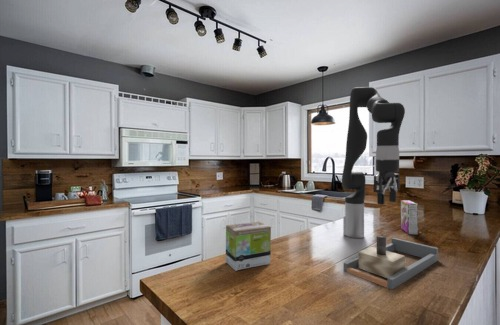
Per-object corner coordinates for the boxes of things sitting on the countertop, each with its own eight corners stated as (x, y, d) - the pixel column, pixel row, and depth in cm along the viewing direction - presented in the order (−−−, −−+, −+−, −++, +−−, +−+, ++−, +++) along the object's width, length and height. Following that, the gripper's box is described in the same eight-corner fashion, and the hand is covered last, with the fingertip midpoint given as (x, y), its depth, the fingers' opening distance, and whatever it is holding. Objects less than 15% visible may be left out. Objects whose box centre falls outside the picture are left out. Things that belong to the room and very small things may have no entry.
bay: (343, 270, 94) (343, 257, 94) (393, 248, 117) (393, 237, 117) (392, 289, 81) (392, 273, 80) (437, 260, 103) (438, 247, 103)
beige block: (358, 268, 96) (358, 235, 95) (371, 262, 101) (371, 231, 101) (392, 280, 86) (392, 243, 86) (404, 272, 91) (405, 238, 91)
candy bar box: (400, 228, 149) (400, 200, 149) (409, 229, 148) (410, 200, 148) (407, 234, 138) (408, 203, 138) (418, 234, 137) (418, 203, 137)
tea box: (235, 272, 94) (235, 231, 94) (225, 262, 103) (224, 224, 102) (271, 264, 101) (271, 225, 100) (258, 255, 110) (258, 220, 109)
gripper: (386, 158, 102) (386, 199, 103) (366, 158, 94) (366, 203, 95) (407, 158, 96) (406, 202, 97) (387, 158, 88) (387, 207, 88)
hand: (386, 203), depth 96 cm, fingers open, 8 cm apart
